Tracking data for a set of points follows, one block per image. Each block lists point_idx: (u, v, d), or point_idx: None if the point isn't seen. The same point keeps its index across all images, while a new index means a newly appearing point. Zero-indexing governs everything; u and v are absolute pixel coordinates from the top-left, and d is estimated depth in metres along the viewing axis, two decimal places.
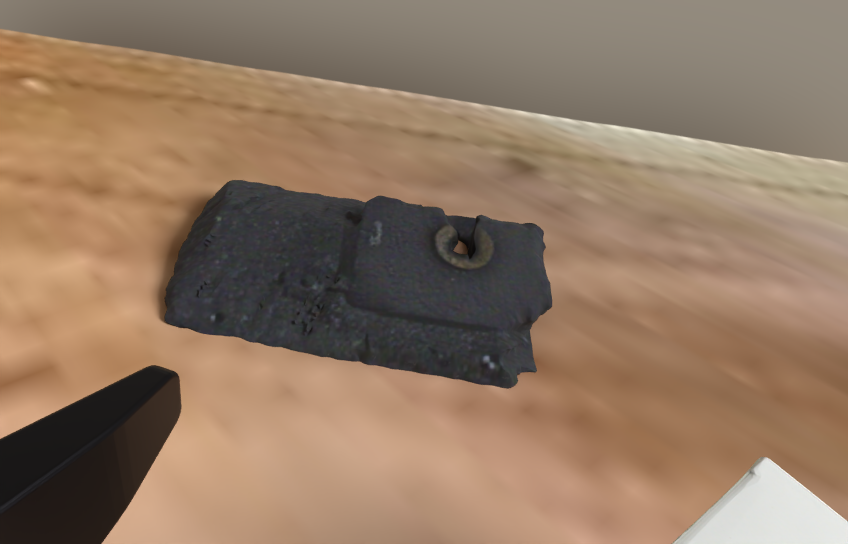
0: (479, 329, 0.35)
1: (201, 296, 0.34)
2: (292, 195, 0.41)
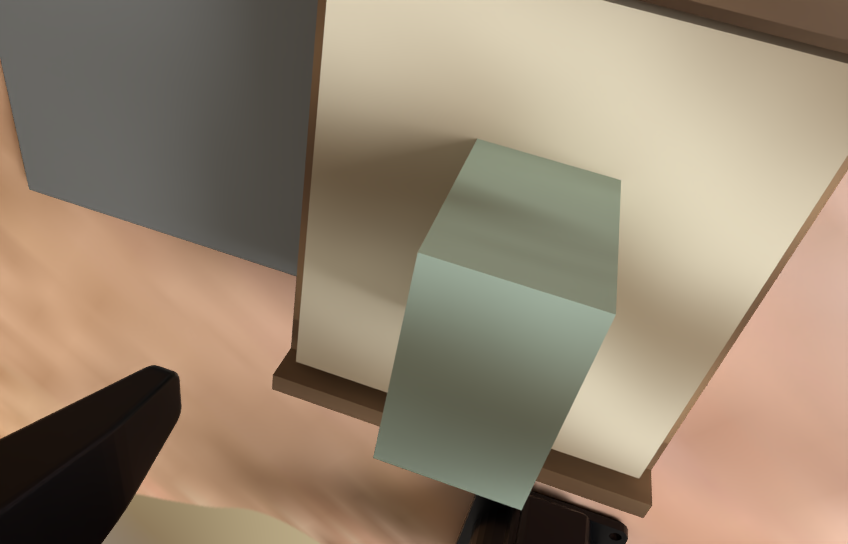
0: None
1: None
2: None
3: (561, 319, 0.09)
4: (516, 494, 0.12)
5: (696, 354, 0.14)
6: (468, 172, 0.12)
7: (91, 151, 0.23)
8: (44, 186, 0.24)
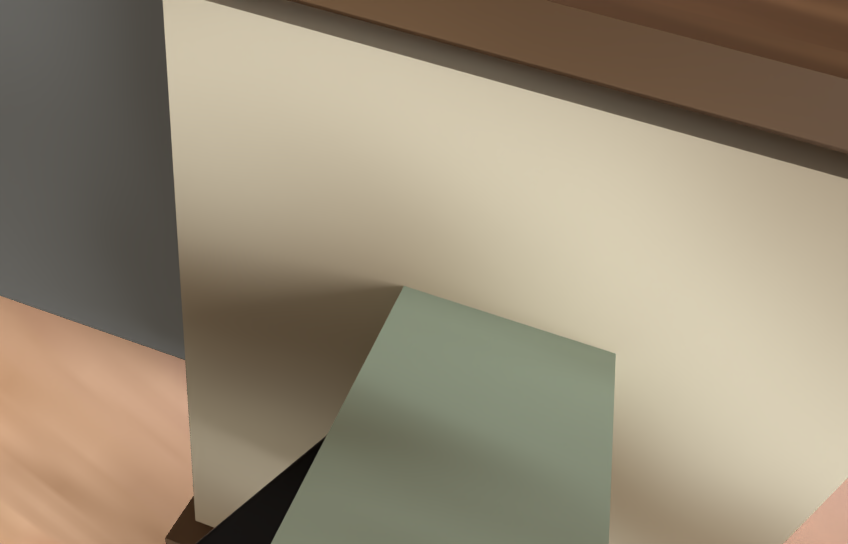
0: None
1: None
2: None
3: None
4: None
5: None
6: (377, 363, 0.08)
7: None
8: None
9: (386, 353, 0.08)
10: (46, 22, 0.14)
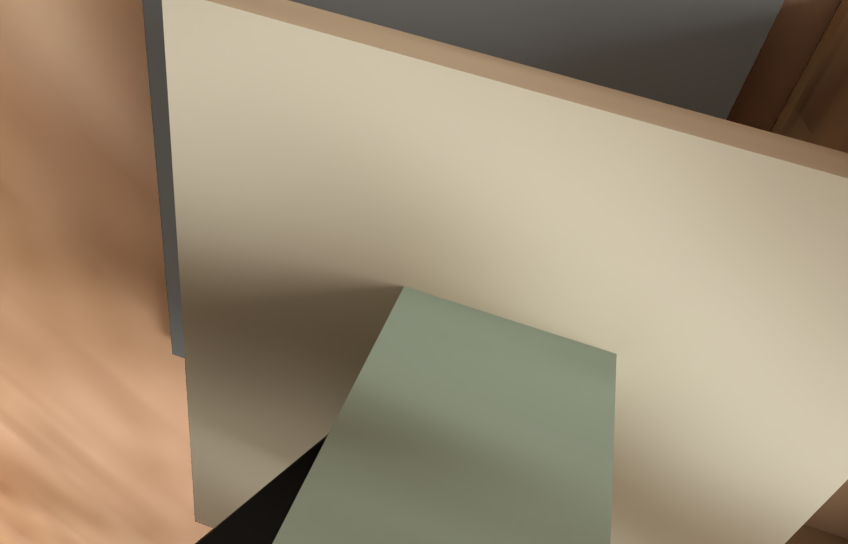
0: None
1: None
2: None
3: None
4: None
5: None
6: (378, 363, 0.08)
7: None
8: None
9: (386, 354, 0.08)
10: None
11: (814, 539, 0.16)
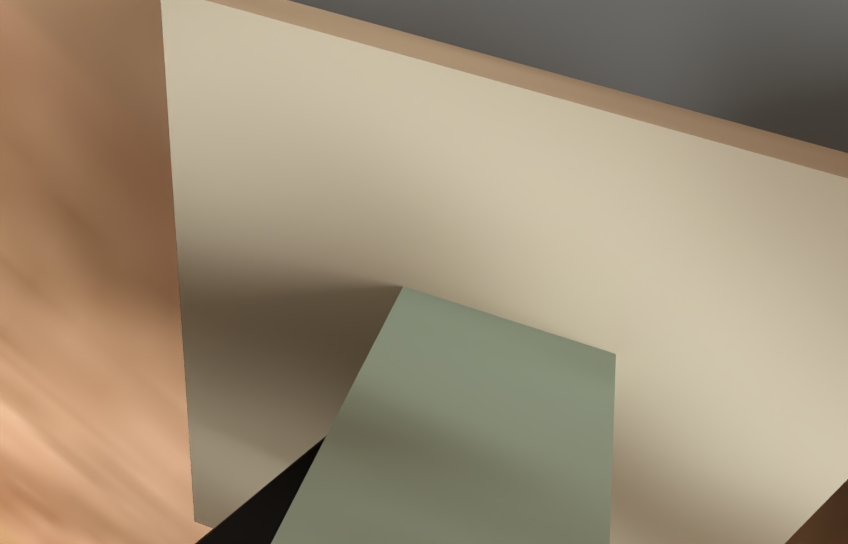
0: None
1: None
2: None
3: None
4: None
5: None
6: (377, 363, 0.08)
7: None
8: None
9: (385, 354, 0.08)
10: None
11: None
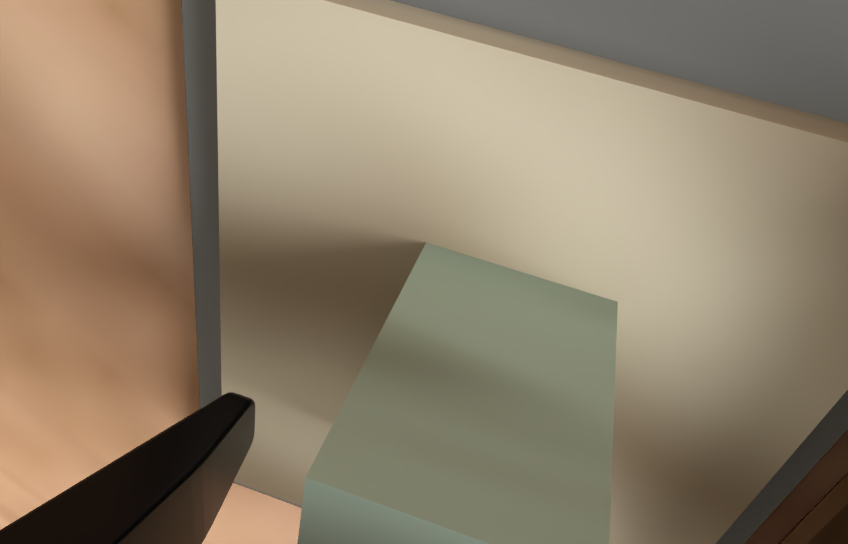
0: None
1: None
2: None
3: None
4: None
5: (715, 506, 0.11)
6: (406, 304, 0.08)
7: None
8: None
9: (413, 297, 0.09)
10: None
11: None
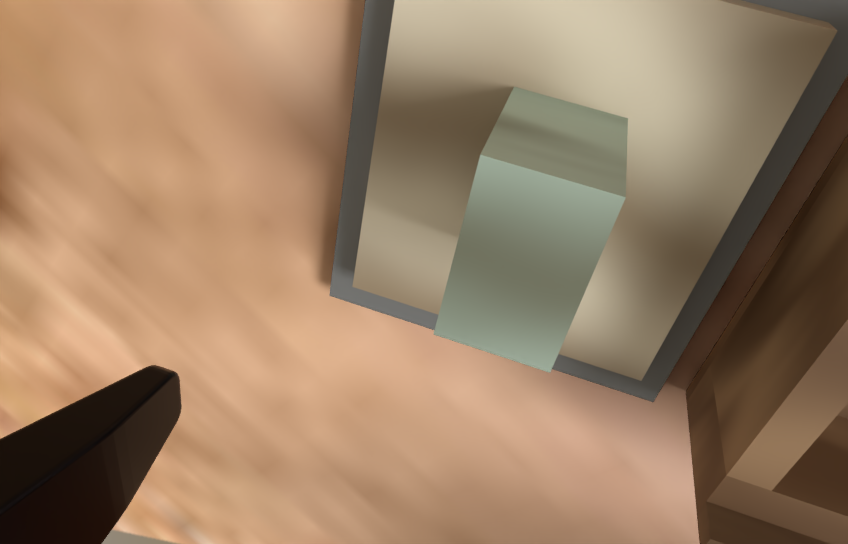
0: None
1: None
2: None
3: (585, 204, 0.13)
4: (546, 358, 0.15)
5: (687, 265, 0.18)
6: (510, 108, 0.15)
7: None
8: (349, 294, 0.23)
9: (513, 105, 0.15)
10: None
11: None
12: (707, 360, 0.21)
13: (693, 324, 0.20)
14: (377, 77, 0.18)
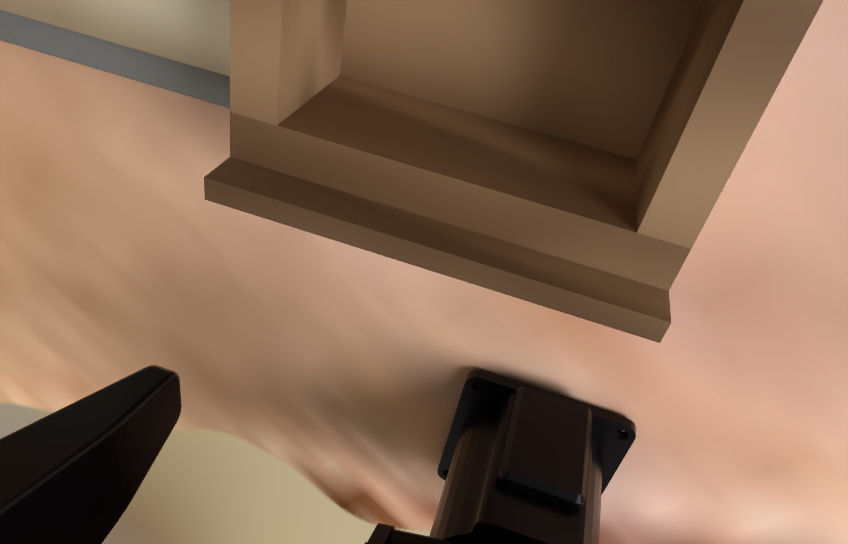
0: None
1: None
2: None
3: None
4: None
5: None
6: None
7: None
8: None
9: None
10: None
11: (472, 118, 0.17)
12: None
13: None
14: None
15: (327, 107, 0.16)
